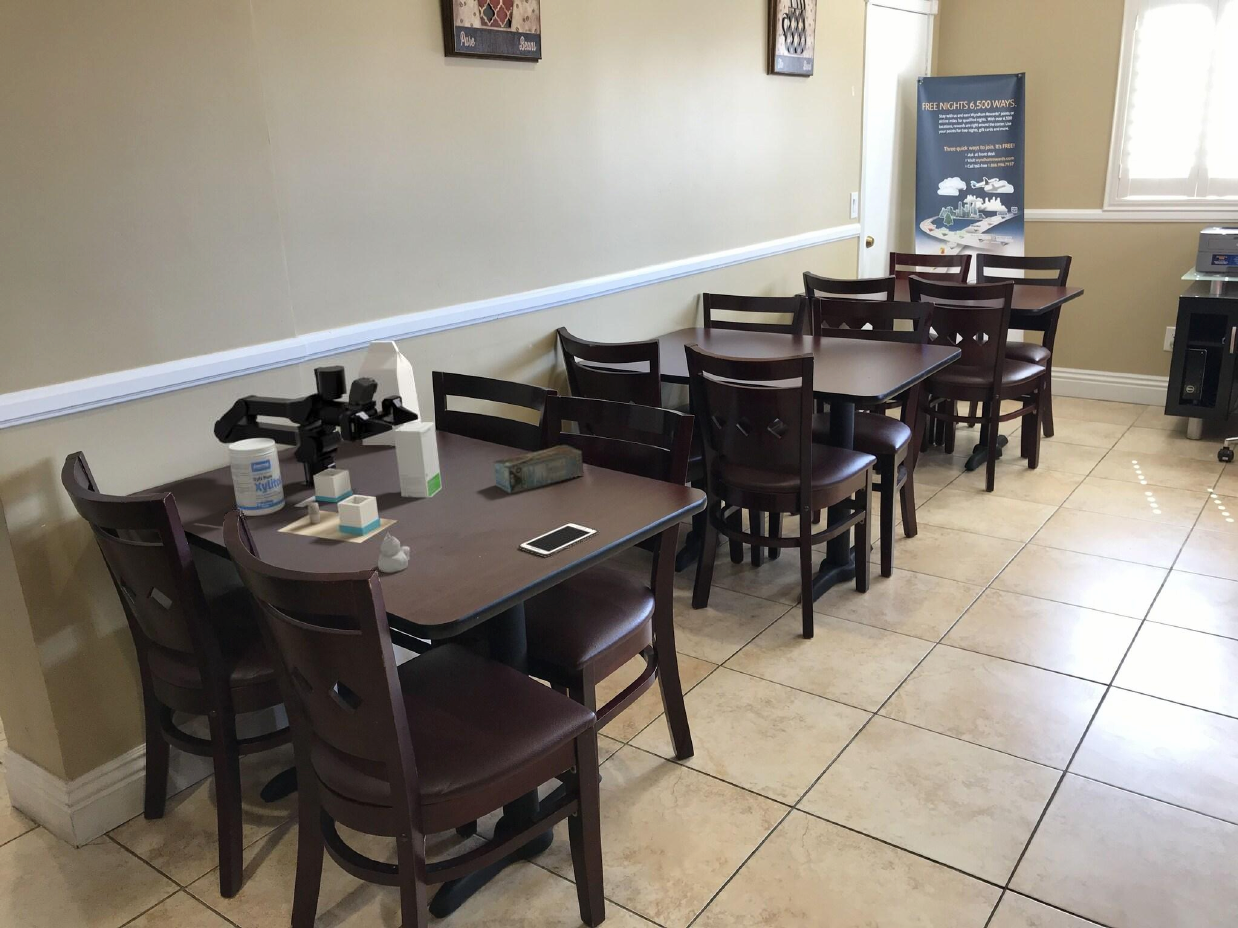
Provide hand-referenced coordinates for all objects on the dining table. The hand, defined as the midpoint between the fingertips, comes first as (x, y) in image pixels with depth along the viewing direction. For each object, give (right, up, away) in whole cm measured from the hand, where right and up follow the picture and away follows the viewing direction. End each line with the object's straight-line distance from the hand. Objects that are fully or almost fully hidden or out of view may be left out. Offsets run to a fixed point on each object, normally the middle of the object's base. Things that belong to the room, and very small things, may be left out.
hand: (405, 422), depth 204 cm
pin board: (-10, -22, -14) cm, 28 cm away
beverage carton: (+28, -13, +11) cm, 33 cm away
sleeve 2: (-5, -22, -16) cm, 27 cm away
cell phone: (+34, -24, -23) cm, 48 cm away
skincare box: (+3, -16, +5) cm, 17 cm away
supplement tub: (-30, -19, 0) cm, 36 cm away
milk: (-14, -3, +48) cm, 49 cm away
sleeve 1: (-16, -17, +3) cm, 23 cm away
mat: (-16, -17, +3) cm, 23 cm away
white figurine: (+6, -28, -34) cm, 44 cm away
